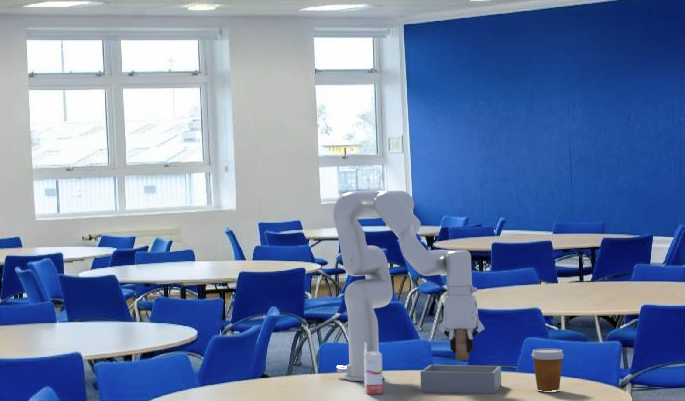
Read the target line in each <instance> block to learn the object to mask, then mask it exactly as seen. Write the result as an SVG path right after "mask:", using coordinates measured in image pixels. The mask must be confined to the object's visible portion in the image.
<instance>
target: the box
mask: <svg viewBox="0 0 685 401" xmlns="http://www.w3.org/2000/svg"><path fill="white" fill-rule="evenodd" d="M500 385H501V386H502V366H501V365H465V364H464V365H461V364H458V365H456V364H455V365H454V364H450V365H449V364H447V365H446V364H428V366H426V367H425V368H424V369H422V370H420V393H452V392H453V393H455V394H457V393H458V394H461V393H464V394H496V392H497V391H498V390H499V389H500V388H501V387H500ZM499 387H500V388H499ZM498 388H499V389H498ZM497 389H498V390H497ZM496 390H497V391H496Z"/></svg>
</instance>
